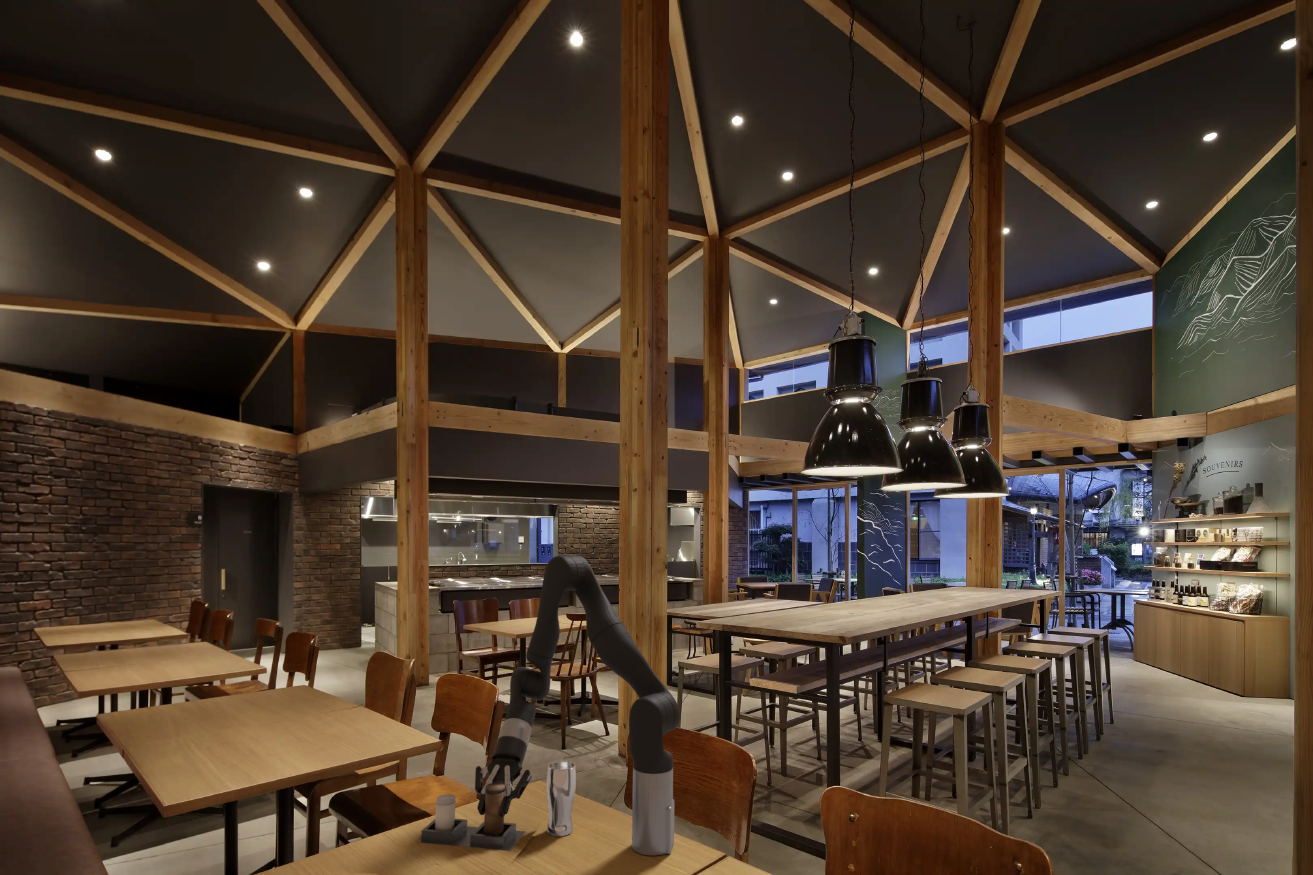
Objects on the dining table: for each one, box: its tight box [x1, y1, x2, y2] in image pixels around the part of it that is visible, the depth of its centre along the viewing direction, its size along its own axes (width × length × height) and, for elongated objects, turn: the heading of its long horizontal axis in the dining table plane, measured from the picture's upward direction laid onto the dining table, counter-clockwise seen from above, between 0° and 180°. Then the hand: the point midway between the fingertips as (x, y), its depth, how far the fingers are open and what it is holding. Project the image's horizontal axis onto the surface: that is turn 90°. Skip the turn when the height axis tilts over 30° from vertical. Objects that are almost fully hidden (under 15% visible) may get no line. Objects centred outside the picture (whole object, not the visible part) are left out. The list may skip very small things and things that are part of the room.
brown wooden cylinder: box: [483, 783, 505, 836], centre depth 161 cm, size 4×4×10 cm
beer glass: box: [546, 760, 577, 837], centre depth 168 cm, size 7×7×15 cm
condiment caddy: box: [417, 818, 527, 852], centre depth 161 cm, size 22×10×3 cm, turn 81°
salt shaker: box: [434, 793, 457, 831], centre depth 163 cm, size 4×4×8 cm
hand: (491, 813), depth 159 cm, fingers closed on brown wooden cylinder, 4 cm apart
